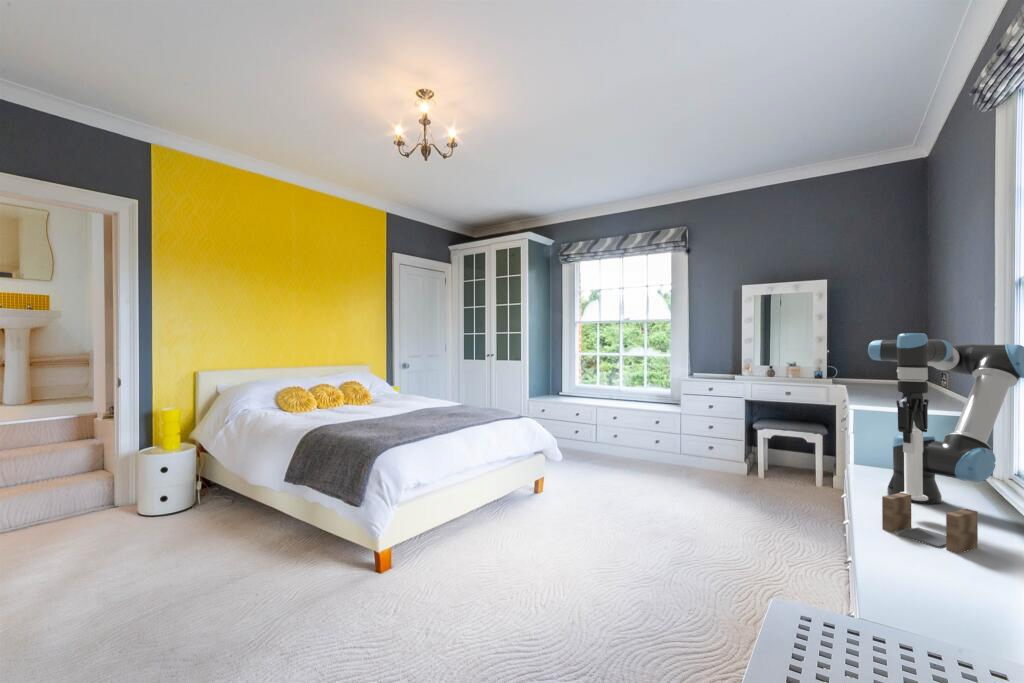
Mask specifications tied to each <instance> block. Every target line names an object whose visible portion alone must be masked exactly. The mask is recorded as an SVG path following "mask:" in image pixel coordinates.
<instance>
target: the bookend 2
mask: <svg viewBox="0 0 1024 683" xmlns="http://www.w3.org/2000/svg"><path fill="white" fill-rule="evenodd" d="M978 522H979V520H978V511H977V510H972V509H968V508H964V509H963V508H962V509H959V510H955V511H951V512H947V513H946V514H945V531H946V532H945V536H946V546H945V548H946V549H945V550H946V551H948V552H951V551H952V552H951V553H954V552H955V553H954V554H957V553H959V554H962V553H965V552H964V551H966V552H968V551H967V550H969V551H972V550H975V549H978V548H977V547H978V546H979V541H978V538H979V537H978V535H979V533H978V532H979V531H978V530H979V529H978V527H979V526H978V525H979V524H978ZM974 548H975V549H974ZM971 549H972V550H971ZM961 552H962V553H961Z"/></svg>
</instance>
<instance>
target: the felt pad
mask: <svg viewBox="0 0 1024 683" xmlns="http://www.w3.org/2000/svg"><path fill="white" fill-rule="evenodd" d="M897 534H898V535H897ZM896 535H897V536H900V537H904V538H906V537H907V539H909V538H910V539H909V540H912V539H914V540H913V541H915V540H917V541H916V542H919V541H920V542H919V543H922V542H923V543H922V544H925V543H926V544H925V545H928V544H929V545H928V546H931V545H932V546H931V547H934V546H935V547H934V548H937V547H938V549H940V548H942V547H946V534H942V533H938V532H936V531H932V530H928V529H926V528H922V527H914V528H908V529H904V530H900V531H897V532H896ZM939 547H940V548H939Z"/></svg>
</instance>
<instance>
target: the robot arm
mask: <svg viewBox="0 0 1024 683" xmlns="http://www.w3.org/2000/svg"><path fill="white" fill-rule="evenodd" d="M867 352H868V356H869V358H870V359H871V360H872V361H873V360H874V361H881V362H893V363H894V362H896V363H897V369H896V373H897V379H898V380H897V391H898V392H899V393H902V396H901V399H898V400H896V407H897V431H898V432H900V433H902V434H899V435H898V434H897V435H896V436H894V437H893V442H892V443H893V444H892V457H893V458H892V464H893V466H892V467H893V469H892V471H893V472H892V476H891V477H890V478H891V479H890V481H889V483H888V485H887V492H886V493H887V494H888V495H892V494H897V493H900V492H905V491H904V452H905V453H910V454H914V433H912V429H913V421H914V423H915V426H916V427H917V428H918V429H919V430H921V431H922V464H923V495H925V496H927V497H928V500H927V501H917V500H911V501H913V502H912V503H916V502H919V503H918V504H925V503H928V504H929V505H934V504H933V503H938V504H941V503H942V502H941V501H942V494H941V491H940V488H939V486H938V484H937V481H936V475H940V476H943V477H944V476H945V477H949V478H952V479H957V480H961V481H965V482H966V481H967V482H972V483H980V482H984V481H986V480H987V479H989V478H991V475H992V474H993V472H994V470H995V468H996V459H997V458H996V455H995V453H994V452H993V451H992V447H991V446H990V444H988V441H989V439H990V436H991V433H992V431H993V428H994V426H995V424H996V421H997V418H998V415H999V413H1000V410H1001V409H1002V407H1003V406H1002V405H1003V403H1004V401H1005V399H1006V395H1007V393H1008V391H1009V388H1011V387H1012V388H1013V387H1015V386H1016V385H1017V384H1018V382H1019V380H1020V378H1022V379H1024V346H1023V345H1022V344H1010V343H1005V344H959V345H958V344H957V345H952V344H951V343H950V342H948V341H946V340H943V339H938V338H937V339H935V338H934V339H933V338H931V339H929V338H928V335H927V334H926V333H923V332H922V333H920V332H919V333H917V332H916V333H915V332H914V333H913V332H909V333H908V332H907V333H900V334H898V335H897V339H876V340H873V341H871V342H870V343H869V344H868V349H867ZM929 367H932V368H935V369H936V370H939V371H944V372H951V373H954V374H955V373H956V374H960V375H967V376H972V377H973V378H974V382H973V385H972V387H971V390H970V392H969V395H968V397H967V399H966V401H965V404H964V405H963V409H962V411H961V414H960V416H959V418H958V420H957V423H956V425H955V428H954V430H953V432H950V433H947V434H946V435H945V436H944V438H943V441H940V440H936V438H935V436H934V435H930V434H924V433H927V432H928V428H929V427H928V424H929V422H928V421H929V420H928V417H929V416H928V412H929V410H928V407H929V402H930V401H929V399H926V398H924V396H923V394H927V393H929V383H928V382H927V381H928V380H929V369H928V368H929ZM940 502H941V503H940ZM930 503H931V504H930ZM928 504H927V505H928Z"/></svg>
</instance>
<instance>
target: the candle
mask: <svg viewBox="0 0 1024 683" xmlns="http://www.w3.org/2000/svg"><path fill="white" fill-rule="evenodd" d="M912 433H914V454H910V453H905V452H904V491H905V492H900V493H905V494H909V495H911V500H917V501H927V500H928V497H927V496H925V495H923V464H922V431H921V430H919V429H918V428H917V427H916V426H915V423H914V421H913V429H912Z"/></svg>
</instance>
